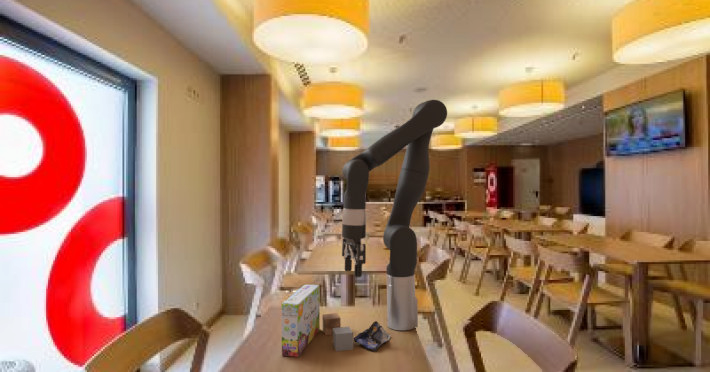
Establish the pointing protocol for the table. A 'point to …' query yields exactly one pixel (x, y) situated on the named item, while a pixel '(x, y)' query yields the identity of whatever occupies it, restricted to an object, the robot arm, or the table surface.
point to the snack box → (300, 320)
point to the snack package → (372, 337)
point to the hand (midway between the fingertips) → (352, 273)
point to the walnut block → (330, 322)
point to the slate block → (342, 338)
